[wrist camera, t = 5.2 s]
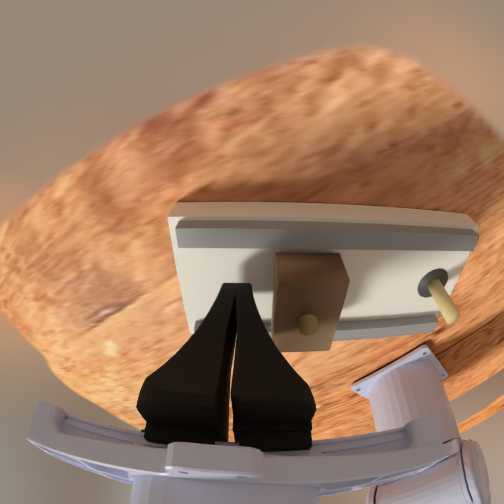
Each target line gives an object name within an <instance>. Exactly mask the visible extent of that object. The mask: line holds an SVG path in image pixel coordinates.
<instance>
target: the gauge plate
mask: <svg viewBox="0 0 504 504" xmlns="http://www.w3.org/2000/svg"><path fill="white" fill-rule="evenodd" d="M168 222H169V229H170V235H171V241H172V247H173V252H174V258H175V263H176V269H177V274H178V279H179V284H180V289H181V294H182V299H183V303H184V308H185V313H186V317H187V322H188V326H189V330H190V334H194V332H195V331H196V330H197V328H198V327H199V326H200V324H201V323H202V321H203V320H204V318H205V317H206V315H207V313H208V312H209V310H210V308H211V307H212V305H213V303H214V301H215V299H216V297H217V295H218V293H219V291H220V288H221V286H222V284H223V283H250V284H251V285H252V291H253V296H254V300H255V303H256V306H257V309H258V311H259V314H260V316H261V319H262V321H263V323H264V325H265V327H266V329H267V331H268V333H269V335H270V337H271V316H272V301H273V286H274V270H275V253H276V252H288V253H340V255H341V258H342V261H343V263H344V266H345V268H346V271H347V274H348V277H349V279H350V283H349V287H348V290H347V294H346V298H345V301H344V305H343V308H342V312H341V315H340V318H339V322H338V325H337V328H336V331H335V334H334V338H333V341H344V340H359V339H372V338H383V337H394V336H403V335H412V334H420V333H428V332H433V331H434V329H435V327H436V326H437V324H438V320H437V319H438V317H439V315H440V313H442V315H443V317H444V319H445V320H446V322H447V323H448V324H451V323H453V322H455V321H456V320H457V319H458V318H459V316H460V313H459V311H458V309H457V308H456V306H455V304H454V303H453V301H452V299H451V298H450V294H451V292H452V290H453V288H454V286H455V284H456V282H457V280H458V277H459V275H460V273H461V271H462V269H463V266H464V264H465V262H466V260H467V257H468V255H469V252H470V251H474V248H475V246H476V243H477V241H478V238H479V235H478V234H477V232H478V229H479V226H478V225H477V224H476V223H475V222H474V221H473V220H472V219H471V218H470V217H469V216H468V215H467V214H463V213H454V212H444V211H433V210H422V209H410V208H397V207H382V206H366V205H347V204H325V203H293V202H177V203H175V204H174V206H173V208H172V210H171V212H170V213H169V215H168ZM236 337H237V335H236ZM271 338H272V337H271Z"/></svg>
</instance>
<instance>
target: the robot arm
mask: <svg viewBox="0 0 504 504" xmlns="http://www.w3.org/2000/svg"><path fill="white" fill-rule="evenodd" d="M236 335H237V337H236ZM235 342H236V349H235V359H234V369H233V377H232V386H231V401H232V409H233V432H234V438H235V442H228V432H229V399H230V377H231V368H232V361H233V355H234V348H235ZM447 377H448V373H447V372H446V370H445V369H444V368H443V366H442V365H441V363H440V362H439V361H438V359H437V358H436V356H435V355H434V354H433V352H432V351H431V350H430V348H429V347H428V346H427V345H422V346H420V347H418V348H417V349H415V350H413V351H412V352H410V353H409V354H407V355H405V356H403V357H402V358H400V359H398V360H397V361H395V362H393V363H391V364H390V365H388V366H386V367H384V368H382V369H380V370H379V371H377V372H375V373H373V374H371V375H369V376H367V377H365V378H363V379H361V380H359V381H357V382H355V383H353V384H352V385H351V386H350V387H351V390H352V391H354V392H356V393H358V394H360V395H361V396H363V397H365V398H367V399H369V401H370V405H371V410H372V414H373V419H374V424H375V429H376V432H375V433H369V434H364V435H357V436H350V437H343V438H335V439H326V440H315V441H312V437H311V430H312V422H311V420H312V418H313V416H314V414H315V412H316V404H315V401H314V397H313V395H312V392H311V390H310V388H309V386H308V384H307V383H306V382H305V381H304V380H303V379H302V378H301V377H300V376H299V375H298V374H297V373H296V371H295V370H294V369H293V368H292V367H291V366H290V364H289V363H288V362H287V360H286V359H285V358H284V356H283V355H282V354H281V352H280V351H279V350H278V348H277V346H276V345H275V343H274V342H273V340H272V338H271V337H270V335H269V333H268V331H267V329H266V327H265V325H264V323H263V321H262V319H261V316H260V314H259V311H258V309H257V306H256V303H255V300H254V296H253V291H252V285H251V284H250V283H223V284H222V286H221V288H220V291H219V293H218V295H217V297H216V299H215V301H214V303H213V305H212V307H211V308H210V310H209V312H208V313H207V315H206V317H205V318H204V320H203V321H202V323H201V324H200V326H199V327H198V328H197V330H196V331H195V332H194V334H193V335H192V336H191V337H190V339H189V340H188V341H187V342H186V343H185V344H184V345H183V347H182V348H181V349H180V350H179V351H178V352H177V353H176V354H175V355H174V356H173V357H171V358H170V359H169V360H168V361H167V362H166V363H165V364H164V365H162V366H161V367H160V368H159V369H157V370H156V371H155V372H153V373H152V374H151V375H149V376H148V377H147V378H146V379H145V381H144V383H143V385H142V388H141V390H140V393H139V397H138V401H137V406H136V407H137V410H138V411H139V413H140V414H141V415H142V417H143V418H144V419H145V420H146V422H147V423H146V427H145V432H139V431H133V430H129V429H123V428H119V427H115V426H111V425H107V424H103V423H99V422H95V421H91V420H88V419H84V418H81V417H78V416H74V415H71V414H68V413H66V412H65V411H64V410H63V409H62V408H61V407H60V406H58V405H56V404H53V403H51V402H48V401H45V400H42V399H40V400H39V402H38V404H37V407H36V410H35V412H34V415H33V418H32V421H31V423H30V426H29V429H28V432H27V436H26V439H27V440H28V441H30V442H31V443H33V444H34V445H36V446H37V447H39V448H40V449H42V450H43V451H45V452H46V453H48V454H49V455H51V456H53V457H55V458H58V459H60V460H63V461H65V462H68V463H70V464H72V465H75V466H77V467H80V468H83V469H86V470H88V471H91V472H93V473H96V474H99V475H102V476H105V477H108V478H111V479H114V480H117V481H121V482H124V483H127V484H131V485H133V486H132V492H131V499H130V504H319V497H320V496H326V495H333V494H338V493H343V492H348V491H353V490H357V489H362V488H367V487H370V490H369V492H368V494H367V498H366V504H491V494H490V489H489V477H488V471H487V467H486V463H485V459H484V456H483V453H482V451H481V448H480V446H479V444H478V443H477V442H476V441H472V440H470V439H468V440H466V441H465V440H462V439H461V438H460V434H459V431H458V427H457V424H456V421H455V418H454V415H453V412H452V409H451V406H450V403H449V400H448V397H447V394H446V392H445V389H444V386H443V383H442V380H444V379H446V378H447Z"/></svg>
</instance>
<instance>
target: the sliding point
mask: <svg viewBox="0 0 504 504" xmlns="http://www.w3.org/2000/svg"><path fill="white" fill-rule="evenodd" d="M349 283H350V279H349V277H348V274H347V271H346V268H345V266H344V263H343V261H342V258H341V255H340V253H288V252H276V253H275V270H274V286H273V301H272V316H271V337H272V340H273V342H274V343H275V345H276V346H277V348H278V350H279V351H280V352H307V351H329V350H330V347H331V344H332V341H333V338H334V334H335V331H336V328H337V325H338V322H339V318H340V315H341V312H342V308H343V305H344V301H345V298H346V294H347V290H348V287H349Z"/></svg>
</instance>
